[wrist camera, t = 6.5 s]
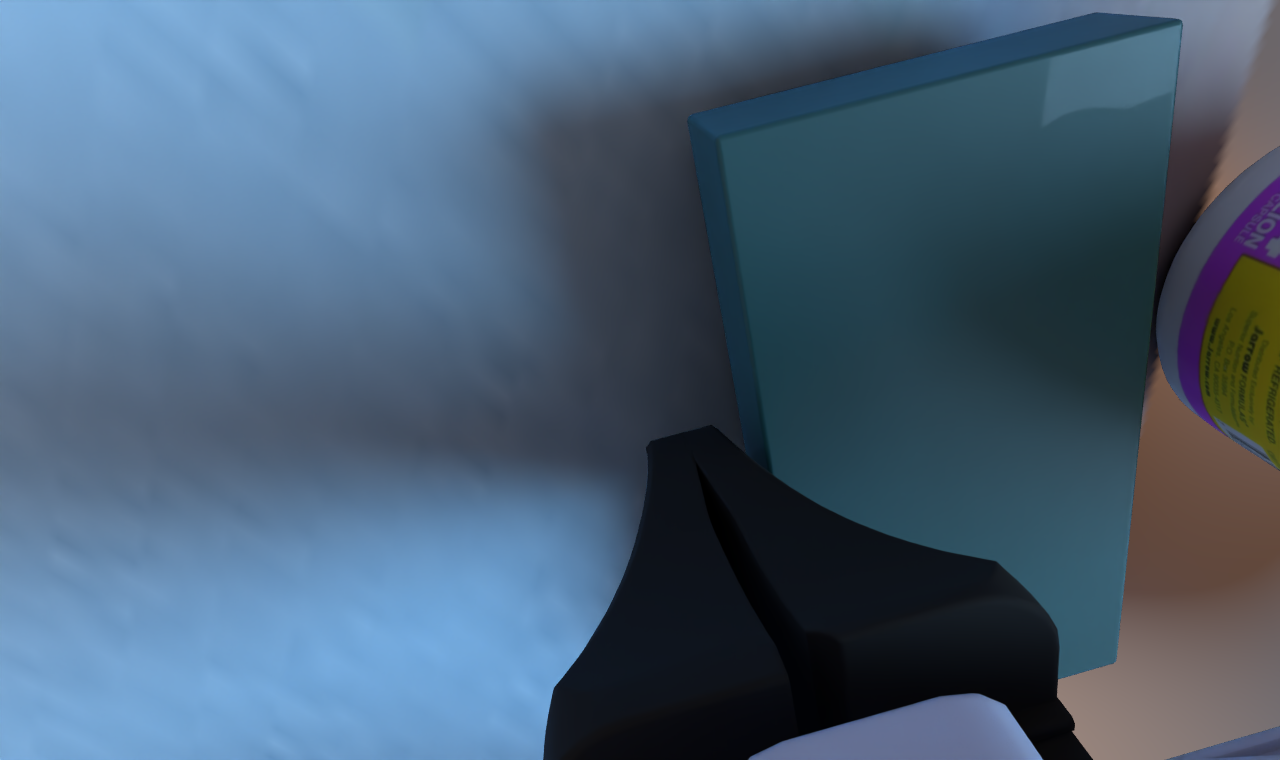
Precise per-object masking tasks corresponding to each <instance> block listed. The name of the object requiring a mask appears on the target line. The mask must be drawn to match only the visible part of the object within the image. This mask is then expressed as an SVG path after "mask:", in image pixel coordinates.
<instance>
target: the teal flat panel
mask: <svg viewBox="0 0 1280 760" xmlns="http://www.w3.org/2000/svg"><path fill="white" fill-rule="evenodd" d="M1182 28H1183V24H1182V21H1181V20H1179V19H1173V18H1160V17H1147V16H1135V15H1122V14H1109V13H1092V14H1088V15H1084V16H1080V17H1076V18H1072V19H1068V20H1064V21H1060V22H1056V23H1052V24H1048V25H1044V26H1040V27H1036V28H1032V29H1028V30H1024V31H1020V32H1016V33H1012V34H1009V35H1005V36H1001V37H997V38H993V39H989V40H985V41H981V42H977V43H973V44H969V45H965V46H961V47H957V48H953V49H949V50H945V51H941V52H937V53H933V54H929V55H925V56H921V57H917V58H913V59H909V60H905V61H901V62H897V63H893V64H889V65H885V66H881V67H878V68H874V69H870V70H866V71H862V72H858V73H854V74H850V75H846V76H842V77H838V78H834V79H830V80H826V81H822V82H818V83H814V84H810V85H806V86H802V87H798V88H794V89H790V90H786V91H782V92H778V93H774V94H770V95H766V96H762V97H758V98H754V99H750V100H747V101H743V102H739V103H735V104H731V105H727V106H723V107H719V108H715V109H711V110H707V111H703V112H699V113H695V114H692V115H690V116H689V117H688V121H687V122H688V127H689V133H690V139H691V144H692V150H693V156H694V161H695V167H696V173H697V178H698V184H699V190H700V195H701V201H702V206H703V212H704V218H705V223H706V229H707V235H708V240H709V246H710V252H711V257H712V263H713V269H714V274H715V280H716V286H717V291H718V297H719V302H720V308H721V314H722V319H723V325H724V331H725V336H726V342H727V348H728V353H729V359H730V365H731V370H732V376H733V381H734V387H735V393H736V398H737V404H738V410H739V415H740V421H741V427H742V432H743V438H744V444H745V449H746V454H747V455H748V456H749V457H750V458H751V459H753V460H754V461H755V462H756V463H758V464H759V465H760V466H762V467H763V468H765V469H766V470H767V471H769V472H770V473H771V474H773V475H774V476H775V477H777V478H778V479H780V480H781V481H782V482H784V483H785V484H787V485H788V486H790V487H791V488H793V489H795V490H796V491H798V492H799V493H801V494H803V495H804V496H806V497H807V498H809V499H811V500H812V501H814V502H816V503H818V504H819V505H821V506H823V507H825V508H827V509H829V510H831V511H833V512H835V513H837V514H839V515H841V516H843V517H845V518H847V519H850V520H852V521H854V522H857V523H859V524H861V525H864V526H867V527H869V528H872V529H874V530H877V531H880V532H882V533H885V534H887V535H890V536H893V537H896V538H900V539H903V540H906V541H909V542H912V543H916V544H920V545H923V546H927V547H930V548H934V549H938V550H942V551H946V552H951V553H956V554H962V555H967V556H972V557H977V558H982V559H987V560H993V561H997V562H998V563H999V564H1000V565H1001V566H1002V567H1003V568H1004V569H1005V570H1006V571H1007V572H1009V573H1010V574H1011V575H1012V576H1013V577H1014V578H1015V579H1016V580H1018V581H1019V582H1020V583H1021V584H1022V585H1023V586H1024V587H1025V588H1026V589H1027V590H1028V591H1029V592H1030V593H1031V594H1032V595H1033V596H1034V598H1035V599H1036V600H1037V601H1038V602H1039V603H1040V605H1041V606H1042V607H1043V608H1044V609H1045V610H1046V612H1047V613H1048V614H1049V616H1050V617H1051V619H1052V621H1053V622H1054V624H1055V626H1056V627H1057V629H1058V637H1059V645H1060V651H1059V668H1058V679H1061V678H1065V677H1068V676H1071V675H1075V674H1078V673H1082V672H1085V671H1089V670H1092V669H1095V668H1099V667H1102V666H1106V665H1109V664H1113V663H1114V662H1116V657H1117V648H1118V639H1119V630H1120V620H1121V611H1122V601H1123V592H1124V582H1125V572H1126V562H1127V553H1128V543H1129V534H1130V525H1131V515H1132V506H1133V496H1134V486H1135V476H1136V467H1137V457H1138V448H1139V439H1140V429H1141V420H1142V410H1143V400H1144V391H1145V381H1146V372H1147V362H1148V353H1149V343H1150V334H1151V324H1152V314H1153V305H1154V295H1155V286H1156V276H1157V267H1158V257H1159V248H1160V238H1161V228H1162V219H1163V209H1164V200H1165V190H1166V181H1167V171H1168V161H1169V152H1170V142H1171V133H1172V123H1173V114H1174V104H1175V95H1176V85H1177V75H1178V66H1179V56H1180V47H1181V37H1182Z"/></svg>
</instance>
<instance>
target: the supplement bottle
mask: <svg viewBox="0 0 1280 760" xmlns="http://www.w3.org/2000/svg"><path fill="white" fill-rule="evenodd" d="M1156 338H1157V345H1158V352H1159V357H1160V361H1161V365H1162V369H1163V371H1164V374H1165V376H1166V379H1167V381H1168V383H1169V384H1170V386H1171V388H1172V389H1173V391H1174V392H1175V393H1176V395H1177V396H1178V398H1179V399H1180V400H1181V401H1182V402H1183V403H1184V404H1185V405H1186V406H1187V407H1188V408H1189V409H1190V410H1191V411H1193V412H1194V413H1195V414H1197V415H1198V416H1199V417H1201V418H1202V419H1203V420H1204V421H1206V422H1207V423H1209V424H1210V425H1211V426H1213V427H1214V428H1215V429H1217V430H1218V431H1219V432H1221V433H1222V434H1224V435H1226V436H1227V437H1229V438H1230V439H1232V440H1233V441H1235V442H1236V443H1238V444H1240V445H1241V446H1242V447H1244V448H1245V449H1247V450H1249V451H1250V452H1252V453H1253V454H1255V455H1256V456H1258V457H1260V458H1261V459H1262V460H1264V461H1266V462H1267V463H1269V464H1270V465H1272V466H1273V467H1275V468H1276V469H1278V470H1279V471H1280V146H1279V147H1277V148H1276V149H1274V150H1272V151H1271V152H1269V153H1268V154H1267V155H1265V156H1264V157H1262V158H1261V159H1260V160H1258V161H1257V162H1256V163H1254V164H1253V165H1251V166H1250V167H1249V168H1247V169H1246V170H1245V171H1244V172H1243V173H1241V174H1240V175H1239V176H1238V177H1237V178H1236V179H1235V180H1234V181H1232V182H1231V183H1230V184H1229V185H1228V186H1227V187H1226V188H1225V189H1224V190H1223V191H1222V192H1221V193H1220V194H1219V196H1217V198H1216V199H1215V200H1214V201H1213V202H1212V203H1211V204H1210V205H1209V207H1208V208H1207V209H1206V210H1205V211H1204V213H1203V214H1202V215H1201V217H1200V218H1199V219H1198V221H1197V222H1196V223H1195V225H1194V226H1193V227H1192V229H1191V231H1190V232H1189V234H1188V235H1187V237H1186V238H1185V240H1184V242H1183V243H1182V245H1181V247H1180V249H1179V251H1178V252H1177V254H1176V256H1175V258H1174V260H1173V263H1172V265H1171V267H1170V270H1169V272H1168V275H1167V277H1166V280H1165V284H1164V287H1163V290H1162V293H1161V296H1160V301H1159V306H1158V311H1157V319H1156Z"/></svg>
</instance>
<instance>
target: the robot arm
mask: <svg viewBox="0 0 1280 760" xmlns="http://www.w3.org/2000/svg"><path fill="white" fill-rule="evenodd" d="M646 451H647V456H648V478H647V488H646V494H645V501H644V507H643V513H642V517H641V521H640V525H639V529H638V533H637V537H636V541H635V544H634V547H633V551H632V554H631V557H630V560H629V562H628V565H627V568H626V570H625V573H624V576H623V578H622V580H621V583H620V585H619V587H618V589H617V591H616V594H615V596H614V598H613V600H612V602H611V604H610V606H609V608H608V610H607V612H606V614H605V616H604V617H603V619H602V621H601V622H600V624H599V626H598V627H597V629H596V631H595V632H594V634H593V636H592V637H591V639H590V640H589V642H588V644H587V645H586V647H585V648H584V650H583V651H582V653H581V654H580V656H579V657H578V658H577V660H576V661H575V662H574V664H573V665H572V666H571V667H570V669H569V670H568V671H567V673H566V674H565V675H564V676H563V678H562V679H561V680H560V681H559V682H558V684H557V685H556V686H555V687H554V690H553V694H552V699H551V704H550V709H549V714H548V720H547V727H546V734H545V744H544V758H543V760H1093V759H1092V758H1091V756H1090V755H1089V754H1088V752H1087V751H1086V750H1085V748H1084V747H1083V746H1082V744H1081V743H1080V742H1079V740H1078V739H1077V738H1076V736H1075V735H1074V734H1073V732H1072V731H1073V730H1074V728H1075V723H1074V720H1073V718H1072V716H1071V714H1070V713H1069V712H1068V711H1067V710H1066V708H1065V707H1064V705H1063V704H1062V703H1061V701H1060V700H1059V699H1058V698H1057V685H1058V668H1059V651H1060V645H1059V637H1058V629H1057V627H1056V626H1055V624H1054V622H1053V621H1052V619H1051V617H1050V616H1049V614H1048V613H1047V612H1046V610H1045V609H1044V608H1043V607H1042V606H1041V605H1040V603H1039V602H1038V601H1037V600H1036V599H1035V598H1034V596H1033V595H1032V594H1031V593H1030V592H1029V591H1028V590H1027V589H1026V588H1025V587H1024V586H1023V585H1022V584H1021V583H1020V582H1019V581H1018V580H1016V579H1015V578H1014V577H1013V576H1012V575H1011V574H1010V573H1009V572H1007V571H1006V570H1005V569H1004V568H1003V567H1002V566H1001V565H1000V564H999V563H998V562H997V561H993V560H987V559H982V558H977V557H972V556H967V555H962V554H956V553H951V552H946V551H942V550H938V549H934V548H930V547H927V546H923V545H920V544H916V543H912V542H909V541H906V540H903V539H900V538H896V537H893V536H890V535H887V534H885V533H882V532H880V531H877V530H874V529H872V528H869V527H867V526H864V525H861V524H859V523H857V522H854V521H852V520H850V519H847V518H845V517H843V516H841V515H839V514H837V513H835V512H833V511H831V510H829V509H827V508H825V507H823V506H821V505H819V504H818V503H816V502H814V501H812V500H811V499H809V498H807V497H806V496H804V495H803V494H801V493H799V492H798V491H796V490H795V489H793V488H791V487H790V486H788V485H787V484H785V483H784V482H782V481H781V480H780V479H778V478H777V477H775V476H774V475H773V474H771V473H770V472H769V471H767V470H766V469H765V468H763V467H762V466H760V465H759V464H758V463H756V462H755V461H754V460H753V459H751V458H750V457H749V456H748V455H747V454H745V453H744V452H743V451H742V450H741V449H739V448H738V447H737V446H736V445H735V444H734V443H732V442H731V441H730V440H729V439H728V438H727V437H726V436H725V435H724V434H723V433H722V432H721V431H720V430H719V429H717V428H716V427H714V426H712V425H710V426H706V427H702V428H698V429H695V430H691V431H687V432H683V433H680V434H676V435H672V436H668V437H665V438H661V439H657V440H653V441H650V443H649V444H648V446H647V447H646ZM1167 760H1280V726H1279V727H1275V728H1272V729H1269V730H1265V731H1262V732H1258V733H1255V734H1252V735H1248V736H1245V737H1241V738H1238V739H1234V740H1231V741H1228V742H1224V743H1221V744H1217V745H1214V746H1211V747H1207V748H1204V749H1201V750H1197V751H1194V752H1191V753H1187V754H1183V755H1180V756H1177V757H1173V758H1170V759H1167Z"/></svg>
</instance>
